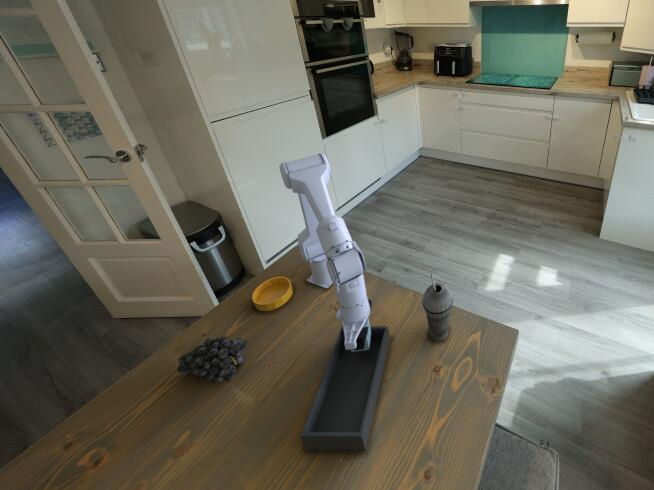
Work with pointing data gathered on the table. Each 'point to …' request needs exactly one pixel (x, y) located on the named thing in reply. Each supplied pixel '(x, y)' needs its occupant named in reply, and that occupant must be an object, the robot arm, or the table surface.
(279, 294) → the bowl
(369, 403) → the bin
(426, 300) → the beverage cup
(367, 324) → the toy block
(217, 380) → the fruit
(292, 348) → the table surface
